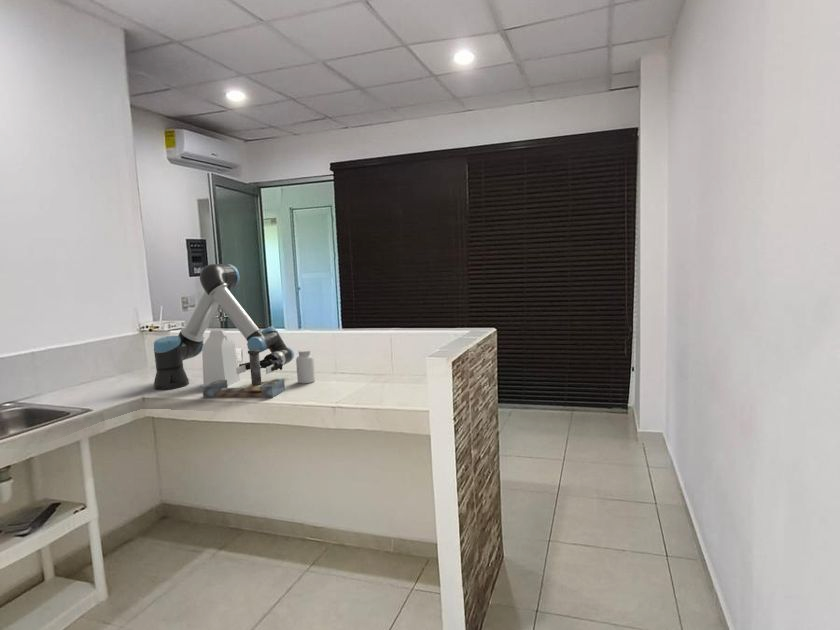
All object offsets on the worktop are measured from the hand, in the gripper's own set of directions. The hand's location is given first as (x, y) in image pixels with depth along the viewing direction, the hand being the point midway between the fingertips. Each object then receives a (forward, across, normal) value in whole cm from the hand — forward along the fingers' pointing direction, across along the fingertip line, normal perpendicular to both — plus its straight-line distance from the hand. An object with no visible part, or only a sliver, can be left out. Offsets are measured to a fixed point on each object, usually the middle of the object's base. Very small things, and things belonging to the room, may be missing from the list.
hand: (251, 370), depth 216 cm
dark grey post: (-3, 0, -9) cm, 10 cm away
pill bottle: (-24, -14, -11) cm, 30 cm away
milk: (-22, +28, -11) cm, 37 cm away
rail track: (-3, +6, -11) cm, 13 cm away
